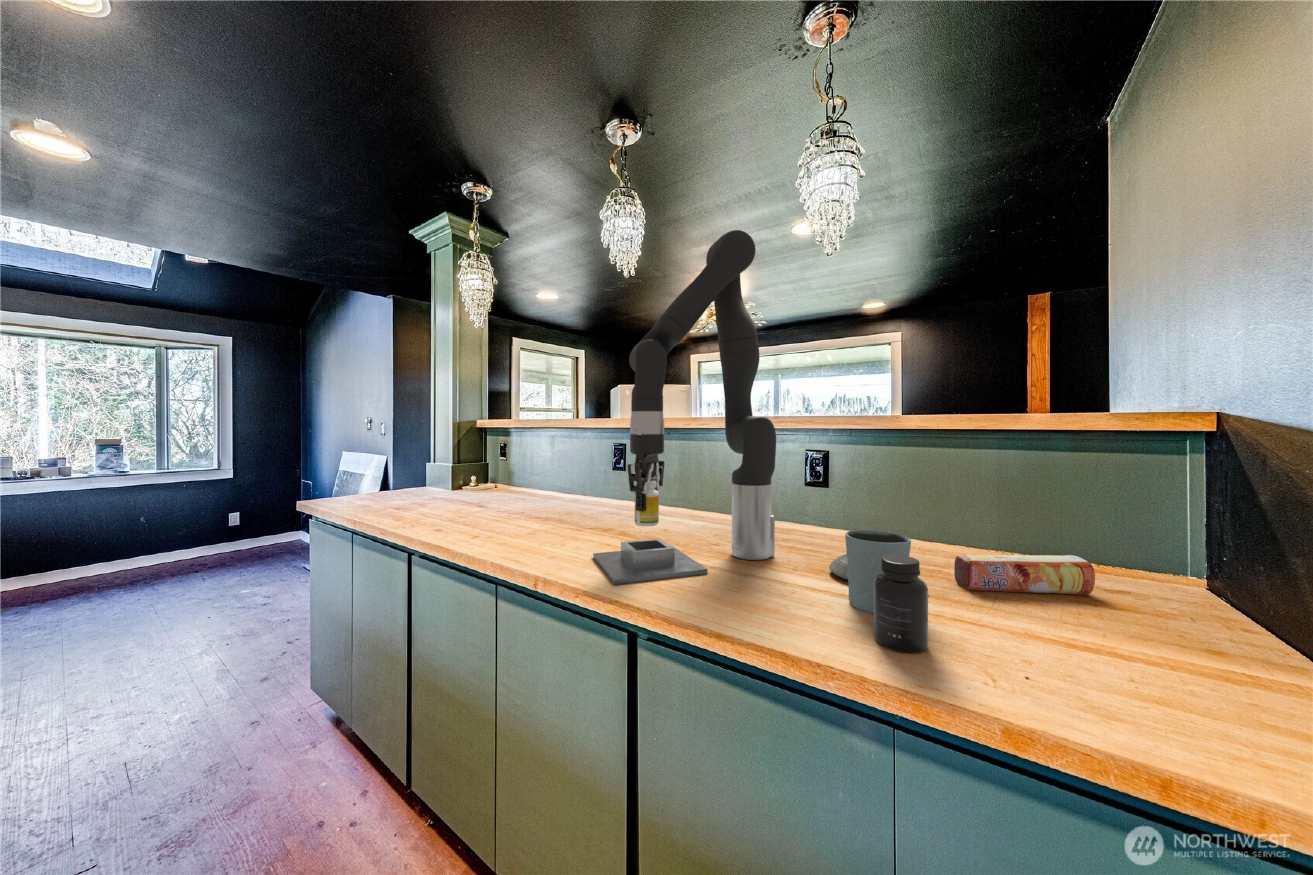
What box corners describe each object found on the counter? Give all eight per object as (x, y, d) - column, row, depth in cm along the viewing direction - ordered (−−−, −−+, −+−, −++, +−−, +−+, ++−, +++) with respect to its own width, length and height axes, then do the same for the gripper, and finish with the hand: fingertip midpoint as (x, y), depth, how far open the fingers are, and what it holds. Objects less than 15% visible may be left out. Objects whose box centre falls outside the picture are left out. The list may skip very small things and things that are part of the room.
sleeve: (672, 549, 114) (672, 531, 114) (707, 573, 96) (707, 552, 95) (593, 557, 108) (593, 538, 107) (614, 585, 89) (614, 562, 89)
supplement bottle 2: (880, 628, 70) (880, 549, 69) (931, 641, 65) (932, 557, 65) (867, 644, 64) (868, 559, 64) (922, 660, 60) (923, 569, 60)
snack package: (969, 594, 84) (969, 557, 84) (951, 582, 91) (951, 548, 91) (1097, 599, 82) (1098, 562, 81) (1069, 586, 88) (1070, 552, 88)
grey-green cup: (833, 603, 79) (834, 534, 79) (861, 590, 86) (862, 526, 86) (894, 622, 72) (895, 546, 71) (920, 606, 78) (920, 536, 78)
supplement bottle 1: (629, 524, 101) (629, 481, 101) (646, 520, 105) (646, 479, 105) (647, 527, 98) (647, 483, 97) (663, 524, 101) (664, 481, 101)
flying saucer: (903, 597, 83) (903, 567, 83) (819, 580, 92) (819, 553, 92) (915, 576, 95) (915, 549, 95) (840, 563, 104) (840, 539, 104)
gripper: (646, 432, 109) (646, 502, 109) (616, 432, 96) (615, 512, 96) (675, 432, 106) (675, 505, 106) (648, 432, 93) (647, 515, 93)
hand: (646, 508), depth 101 cm, fingers closed on supplement bottle 1, 5 cm apart
